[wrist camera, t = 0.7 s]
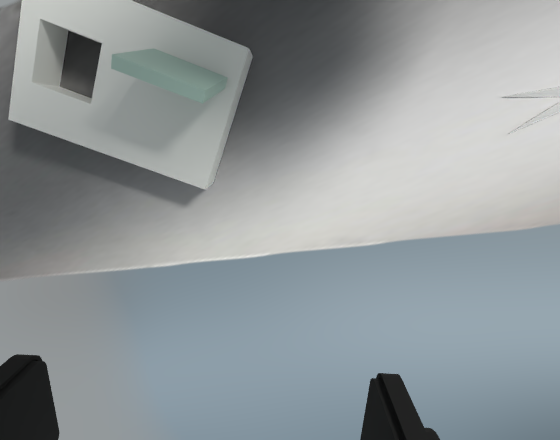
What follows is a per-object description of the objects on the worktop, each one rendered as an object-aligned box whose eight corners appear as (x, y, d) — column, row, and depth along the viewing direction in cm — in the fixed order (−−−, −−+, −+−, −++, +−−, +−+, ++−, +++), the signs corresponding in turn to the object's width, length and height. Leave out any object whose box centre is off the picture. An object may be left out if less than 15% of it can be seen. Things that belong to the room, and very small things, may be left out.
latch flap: (152, 59, 30) (154, 48, 29) (225, 88, 30) (227, 77, 30) (111, 68, 24) (112, 54, 23) (202, 103, 24) (205, 90, 24)
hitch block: (58, -22, 31) (26, -42, 27) (253, 56, 33) (249, 48, 29) (38, 119, 35) (8, 119, 31) (213, 182, 37) (205, 189, 33)
